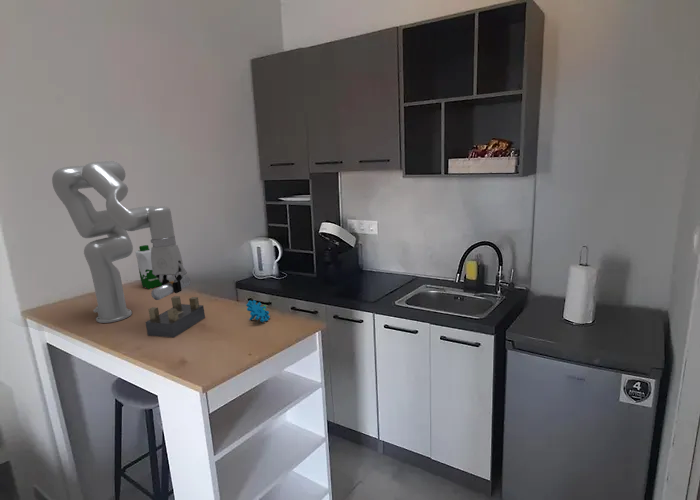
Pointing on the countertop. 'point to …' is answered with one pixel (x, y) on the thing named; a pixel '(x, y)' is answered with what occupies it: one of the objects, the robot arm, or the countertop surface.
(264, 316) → the gear
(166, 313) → the grey plate with feet
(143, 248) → the milk carton
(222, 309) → the countertop surface
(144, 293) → the countertop surface
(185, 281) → the tube
